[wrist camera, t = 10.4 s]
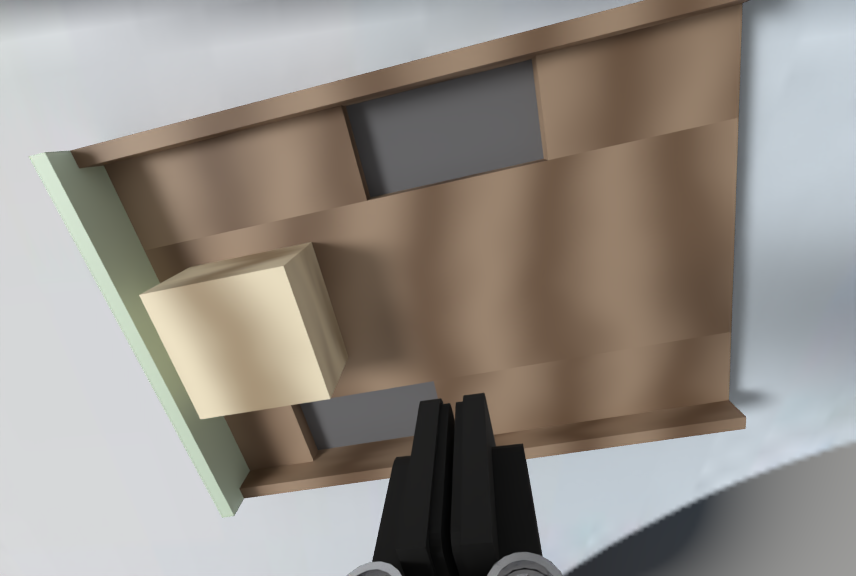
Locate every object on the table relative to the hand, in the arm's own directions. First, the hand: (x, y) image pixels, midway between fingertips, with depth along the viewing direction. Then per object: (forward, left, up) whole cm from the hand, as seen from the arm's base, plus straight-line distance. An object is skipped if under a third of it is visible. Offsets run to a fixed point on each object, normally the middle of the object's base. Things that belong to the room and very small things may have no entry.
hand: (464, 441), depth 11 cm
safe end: (+16, 0, -14) cm, 21 cm away
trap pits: (+3, 0, -13) cm, 14 cm away
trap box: (+2, 0, -14) cm, 14 cm away
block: (+11, 0, -12) cm, 16 cm away
